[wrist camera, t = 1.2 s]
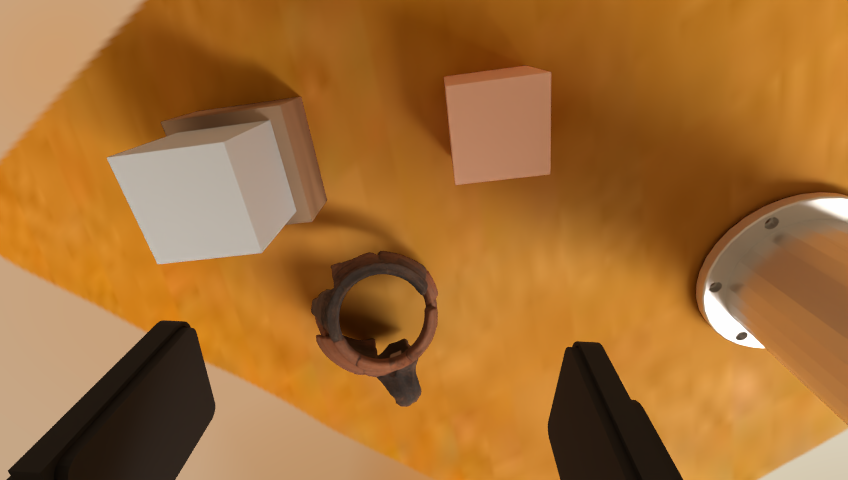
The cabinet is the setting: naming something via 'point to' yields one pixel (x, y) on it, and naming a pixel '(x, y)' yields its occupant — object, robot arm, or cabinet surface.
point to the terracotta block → (499, 124)
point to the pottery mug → (361, 355)
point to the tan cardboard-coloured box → (290, 142)
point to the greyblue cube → (207, 191)
